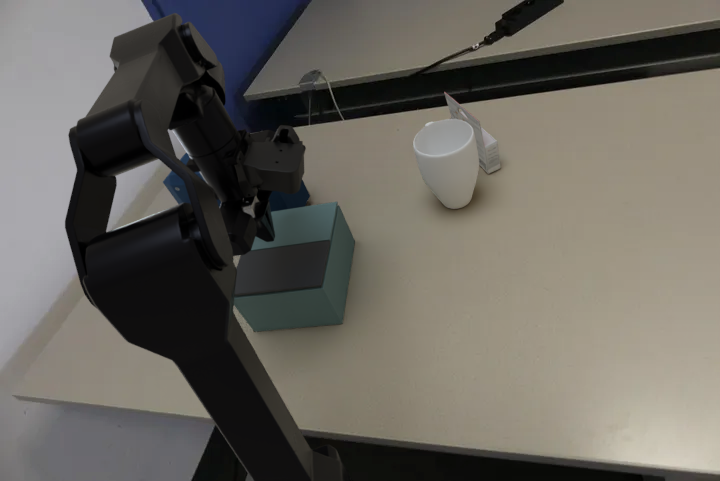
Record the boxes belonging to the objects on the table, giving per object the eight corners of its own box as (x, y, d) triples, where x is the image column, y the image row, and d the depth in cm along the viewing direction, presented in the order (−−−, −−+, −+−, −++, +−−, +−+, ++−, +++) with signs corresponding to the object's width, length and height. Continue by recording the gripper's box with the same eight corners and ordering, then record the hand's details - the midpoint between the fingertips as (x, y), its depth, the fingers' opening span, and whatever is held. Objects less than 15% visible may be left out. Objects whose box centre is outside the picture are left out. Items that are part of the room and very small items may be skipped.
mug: (494, 205, 75) (484, 140, 67) (439, 226, 75) (422, 164, 67) (464, 160, 83) (451, 98, 76) (415, 179, 84) (397, 120, 76)
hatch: (321, 286, 63) (320, 284, 63) (228, 296, 66) (226, 294, 66) (330, 242, 68) (329, 240, 68) (243, 254, 71) (241, 252, 71)
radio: (316, 196, 88) (267, 93, 75) (297, 234, 83) (240, 130, 70) (216, 197, 97) (156, 105, 84) (193, 232, 92) (125, 140, 78)
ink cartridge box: (467, 135, 88) (457, 84, 81) (502, 168, 79) (494, 114, 73) (453, 142, 88) (443, 91, 81) (487, 175, 79) (478, 122, 73)
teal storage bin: (342, 324, 68) (320, 284, 62) (254, 331, 72) (226, 295, 66) (355, 240, 78) (337, 200, 73) (277, 251, 82) (254, 213, 76)
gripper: (259, 186, 47) (319, 292, 57) (297, 77, 59) (341, 180, 70) (153, 204, 50) (229, 302, 60) (211, 97, 62) (265, 193, 73)
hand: (271, 239), depth 66 cm, fingers closed
